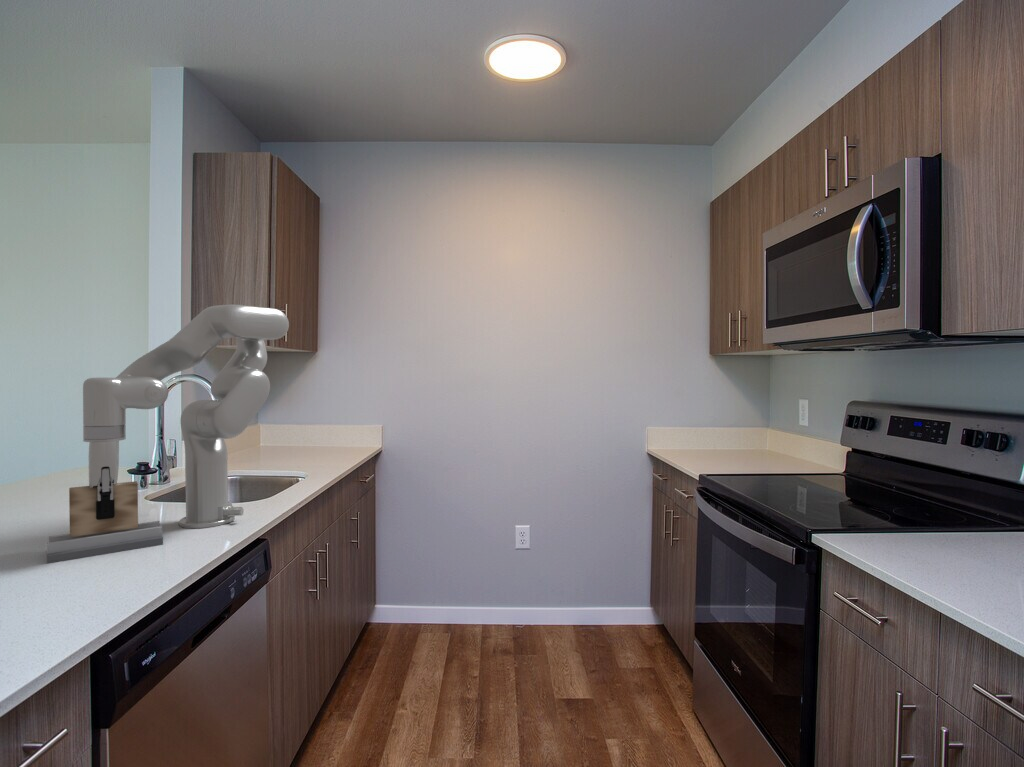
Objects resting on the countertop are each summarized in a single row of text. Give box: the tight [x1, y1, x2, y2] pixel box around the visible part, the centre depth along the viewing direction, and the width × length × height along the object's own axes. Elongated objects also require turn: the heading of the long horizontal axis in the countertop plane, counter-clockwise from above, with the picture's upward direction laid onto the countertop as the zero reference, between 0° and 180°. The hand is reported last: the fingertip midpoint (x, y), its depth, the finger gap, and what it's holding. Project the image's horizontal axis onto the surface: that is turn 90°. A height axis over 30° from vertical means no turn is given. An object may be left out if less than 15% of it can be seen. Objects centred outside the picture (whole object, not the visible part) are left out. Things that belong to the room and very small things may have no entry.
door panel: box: [68, 481, 139, 537], centre depth 122 cm, size 12×3×10 cm, turn 128°
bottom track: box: [46, 520, 164, 564], centre depth 122 cm, size 20×10×4 cm, turn 128°
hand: (105, 516), depth 122 cm, fingers closed on door panel, 3 cm apart
